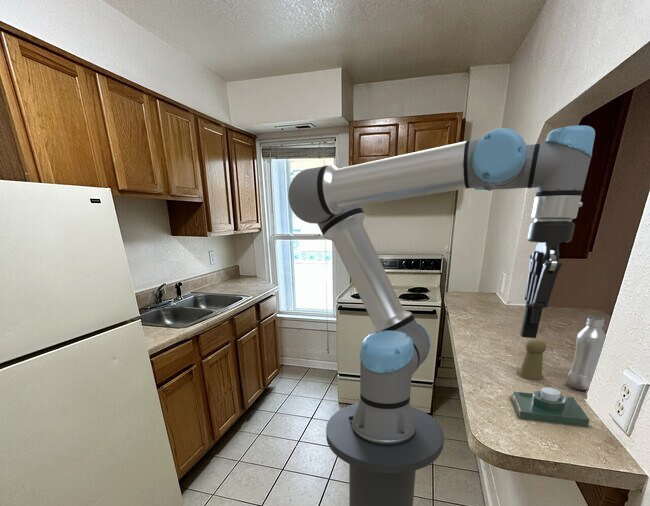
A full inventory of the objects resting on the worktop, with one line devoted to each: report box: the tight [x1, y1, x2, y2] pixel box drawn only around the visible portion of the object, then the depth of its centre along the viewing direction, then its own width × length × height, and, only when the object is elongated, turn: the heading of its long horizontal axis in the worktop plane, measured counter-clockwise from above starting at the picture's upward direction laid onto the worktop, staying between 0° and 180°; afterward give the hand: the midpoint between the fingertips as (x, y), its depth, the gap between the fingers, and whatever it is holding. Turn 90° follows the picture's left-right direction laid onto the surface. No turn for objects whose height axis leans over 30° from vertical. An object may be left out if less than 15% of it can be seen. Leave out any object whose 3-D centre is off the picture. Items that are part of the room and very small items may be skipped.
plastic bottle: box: [566, 316, 607, 391], centre depth 95 cm, size 6×7×20 cm
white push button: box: [540, 386, 562, 402], centre depth 85 cm, size 4×4×2 cm
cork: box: [518, 339, 547, 381], centre depth 105 cm, size 6×6×11 cm
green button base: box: [511, 390, 590, 428], centre depth 86 cm, size 14×11×4 cm
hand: (528, 336), depth 77 cm, fingers closed
